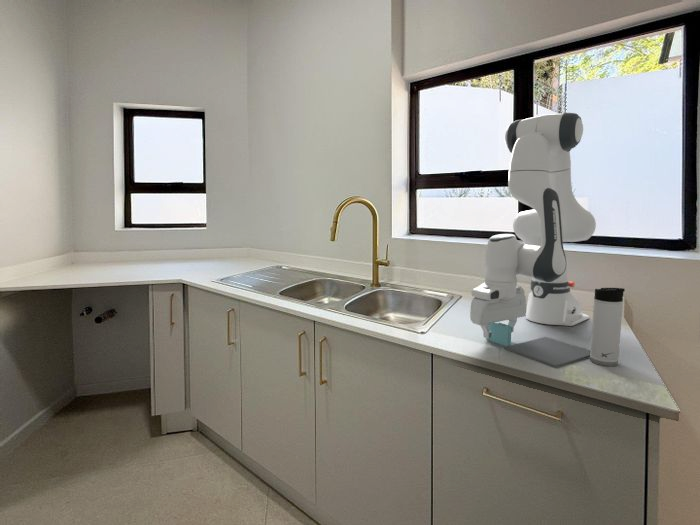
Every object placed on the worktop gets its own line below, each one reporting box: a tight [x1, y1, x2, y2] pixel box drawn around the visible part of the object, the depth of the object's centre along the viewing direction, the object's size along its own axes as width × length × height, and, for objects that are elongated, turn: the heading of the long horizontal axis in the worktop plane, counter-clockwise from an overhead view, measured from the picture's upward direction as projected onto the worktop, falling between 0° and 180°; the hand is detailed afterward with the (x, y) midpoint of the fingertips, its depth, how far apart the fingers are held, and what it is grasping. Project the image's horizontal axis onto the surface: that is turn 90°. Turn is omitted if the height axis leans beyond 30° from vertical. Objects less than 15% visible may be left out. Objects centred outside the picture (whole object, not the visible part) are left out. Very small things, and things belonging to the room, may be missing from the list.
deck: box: [485, 322, 512, 347], centre depth 123 cm, size 1×8×6 cm, turn 29°
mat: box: [504, 336, 591, 369], centre depth 115 cm, size 18×16×1 cm
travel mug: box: [589, 287, 625, 367], centre depth 106 cm, size 6×7×20 cm
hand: (498, 334), depth 123 cm, fingers open, 8 cm apart
